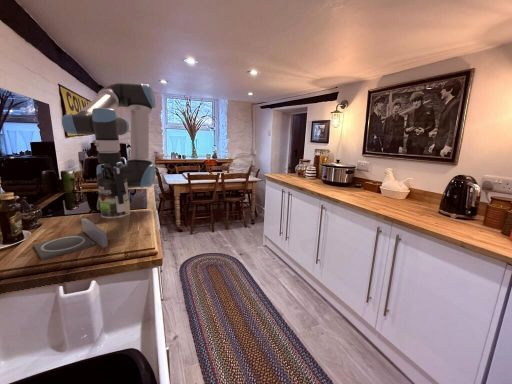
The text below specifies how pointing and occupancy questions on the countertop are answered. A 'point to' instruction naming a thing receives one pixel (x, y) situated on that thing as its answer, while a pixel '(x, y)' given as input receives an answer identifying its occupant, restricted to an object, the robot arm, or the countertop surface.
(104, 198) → the coffee can
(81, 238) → the mat
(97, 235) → the low wall
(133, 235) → the countertop surface
